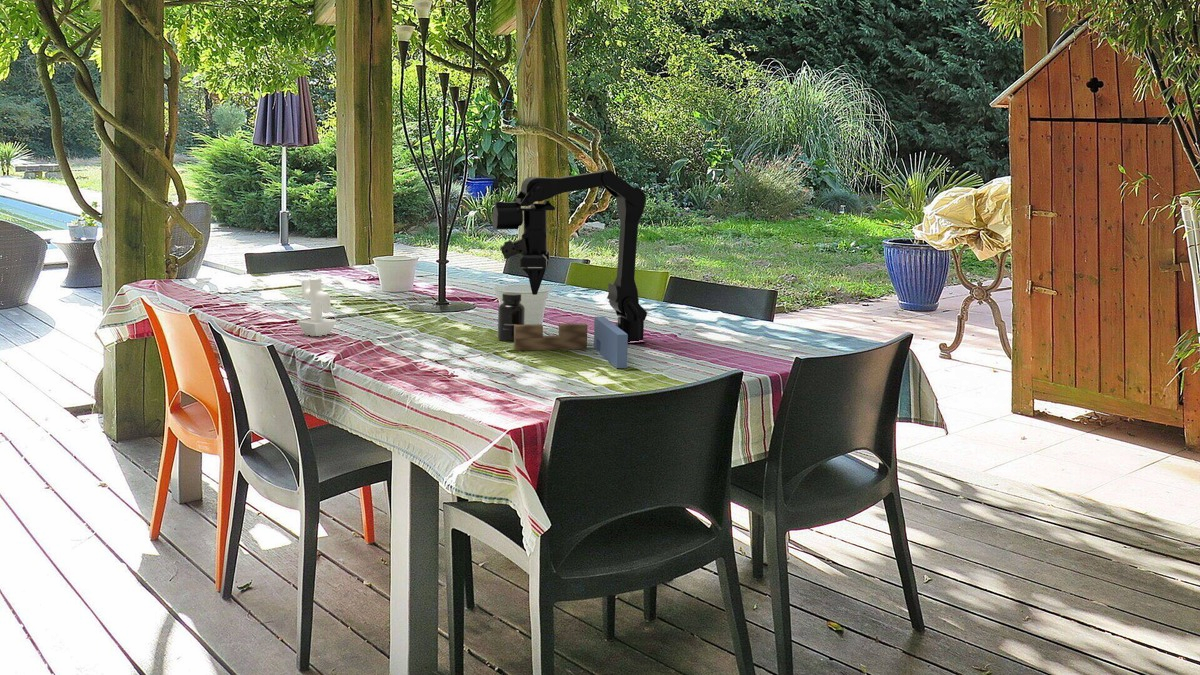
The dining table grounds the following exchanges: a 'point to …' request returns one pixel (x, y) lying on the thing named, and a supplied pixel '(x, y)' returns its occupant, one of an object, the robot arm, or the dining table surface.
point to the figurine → (316, 308)
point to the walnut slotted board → (550, 337)
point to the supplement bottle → (510, 316)
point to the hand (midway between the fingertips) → (535, 291)
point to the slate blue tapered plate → (610, 342)
